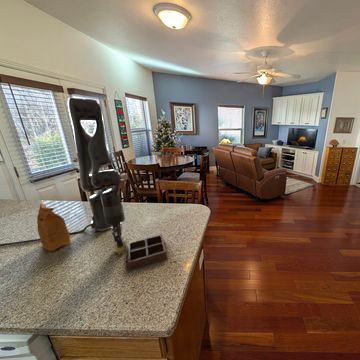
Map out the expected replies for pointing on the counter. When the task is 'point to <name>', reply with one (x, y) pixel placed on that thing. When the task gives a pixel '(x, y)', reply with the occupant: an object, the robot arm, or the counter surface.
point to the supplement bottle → (121, 249)
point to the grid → (146, 252)
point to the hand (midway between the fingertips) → (120, 243)
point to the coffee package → (51, 229)
